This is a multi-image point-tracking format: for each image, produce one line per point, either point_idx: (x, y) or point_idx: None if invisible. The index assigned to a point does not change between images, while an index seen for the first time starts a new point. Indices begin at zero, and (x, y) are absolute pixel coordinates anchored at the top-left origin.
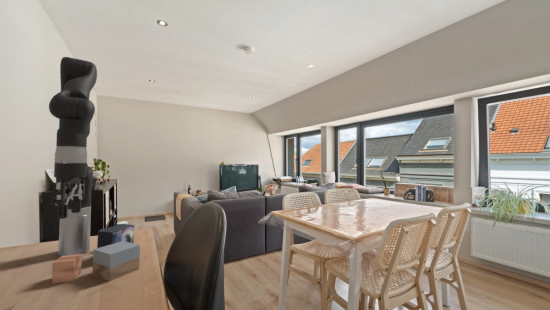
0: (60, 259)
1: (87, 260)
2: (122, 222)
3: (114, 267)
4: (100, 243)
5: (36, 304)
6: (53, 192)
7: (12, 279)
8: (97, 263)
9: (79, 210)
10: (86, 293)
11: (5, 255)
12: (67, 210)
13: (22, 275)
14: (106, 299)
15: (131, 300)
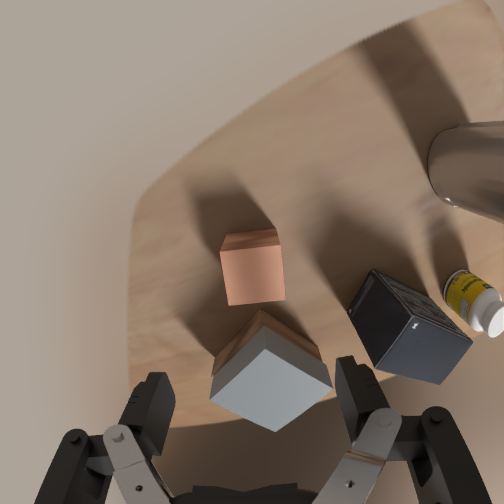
0: (245, 260)
1: (378, 243)
2: (501, 321)
3: None
4: (384, 305)
5: (131, 264)
6: (44, 487)
7: (279, 104)
8: (249, 341)
9: (338, 395)
10: (166, 335)
11: (446, 6)
12: (166, 430)
13: (304, 113)
14: (145, 371)
15: None
